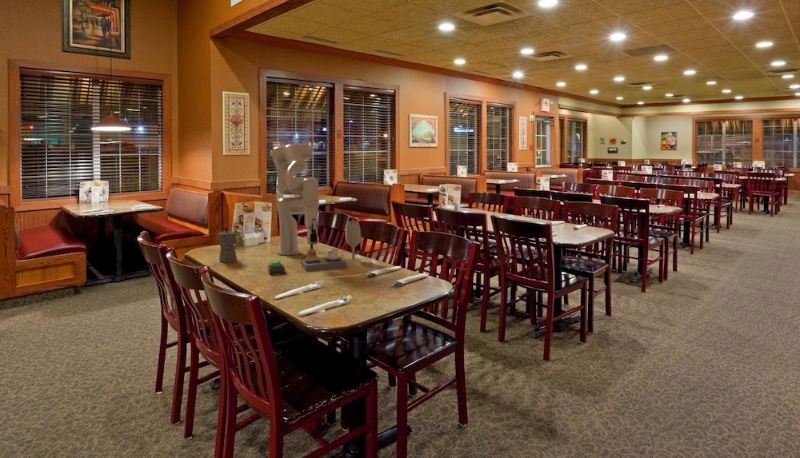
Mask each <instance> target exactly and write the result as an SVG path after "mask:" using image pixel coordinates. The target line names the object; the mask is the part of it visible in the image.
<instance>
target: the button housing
mask: <svg viewBox="0 0 800 458" xmlns="http://www.w3.org/2000/svg"><path fill="white" fill-rule="evenodd" d="M285 270H286V269H285V265H284V264H283V263H281V267H277V268H271V264H270V265H269V264H268V265H267V272H268V274H269V275H270V276H273V275H280V274H281V275H282V274H283V275H284V274H286V271H285Z"/></svg>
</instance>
